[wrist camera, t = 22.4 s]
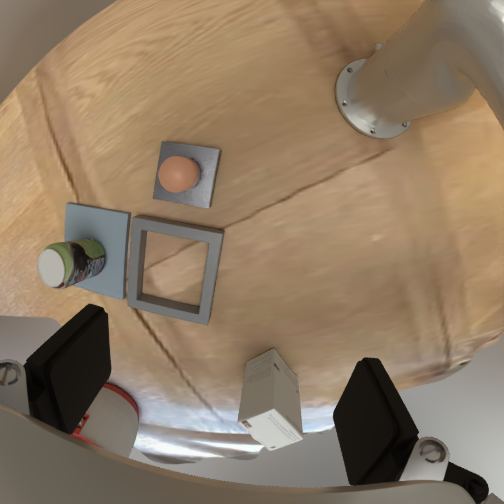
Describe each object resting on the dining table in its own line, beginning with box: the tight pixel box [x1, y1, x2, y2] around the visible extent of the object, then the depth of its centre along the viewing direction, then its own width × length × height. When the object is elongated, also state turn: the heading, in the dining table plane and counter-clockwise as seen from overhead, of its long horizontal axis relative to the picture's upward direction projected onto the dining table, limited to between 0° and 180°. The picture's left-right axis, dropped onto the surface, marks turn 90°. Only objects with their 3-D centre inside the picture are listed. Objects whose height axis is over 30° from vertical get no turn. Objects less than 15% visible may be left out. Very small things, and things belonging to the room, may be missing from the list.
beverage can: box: [38, 238, 105, 289], centre depth 36 cm, size 6×7×12 cm
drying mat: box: [65, 203, 131, 300], centre depth 42 cm, size 14×12×1 cm
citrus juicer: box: [69, 383, 139, 458], centre depth 42 cm, size 16×17×20 cm
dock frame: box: [128, 215, 225, 325], centre depth 42 cm, size 14×13×2 cm
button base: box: [153, 141, 221, 208], centre depth 38 cm, size 8×8×2 cm
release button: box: [158, 156, 200, 193], centre depth 35 cm, size 4×4×4 cm
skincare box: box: [238, 348, 303, 451], centre depth 40 cm, size 8×6×15 cm
